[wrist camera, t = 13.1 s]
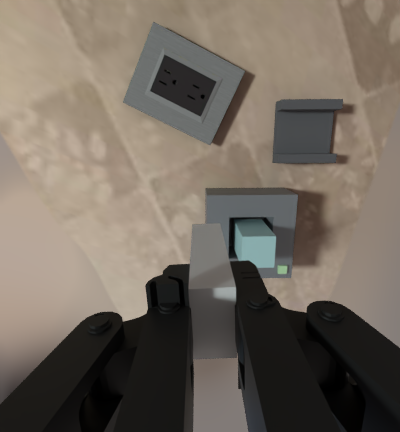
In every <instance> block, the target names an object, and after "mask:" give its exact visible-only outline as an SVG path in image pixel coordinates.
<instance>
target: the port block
mask: <svg viewBox="0 0 400 432" xmlns="http://www.w3.org/2000/svg"><path fill="white" fill-rule="evenodd" d="M297 200H298V194H296V193H294V192H292V191H290V190H288V189H286V188H206V224H213V223H220V225H221V229H222V233H223V237H224V241H225V245H226V249H227V253H228V257H229V261H239V260H238V257H237V255H236V252H235V249H234V246H233V245H232V242H231V221H232V217H261V218H262V220H263V221H264V223H265V224H266V225H267V226H268V227H269V228H270V230H271V231H272V232H273V233H274V234H275V235H276V248H275V263H274V268H257V269H258V271H259V274H260V276H261V278H291V272H292V260H293V248H294V236H295V224H296V212H297Z"/></svg>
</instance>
